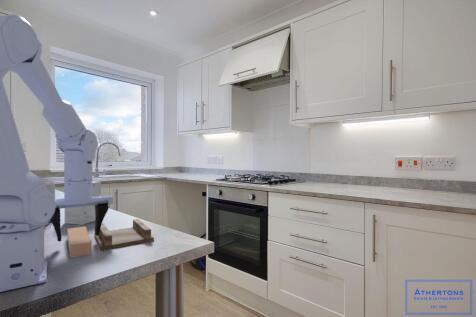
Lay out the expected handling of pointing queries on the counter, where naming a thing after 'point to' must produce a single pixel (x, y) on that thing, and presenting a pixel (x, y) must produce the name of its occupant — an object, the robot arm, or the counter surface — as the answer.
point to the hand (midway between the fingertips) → (78, 237)
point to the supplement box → (83, 209)
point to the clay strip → (79, 241)
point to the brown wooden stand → (124, 236)
